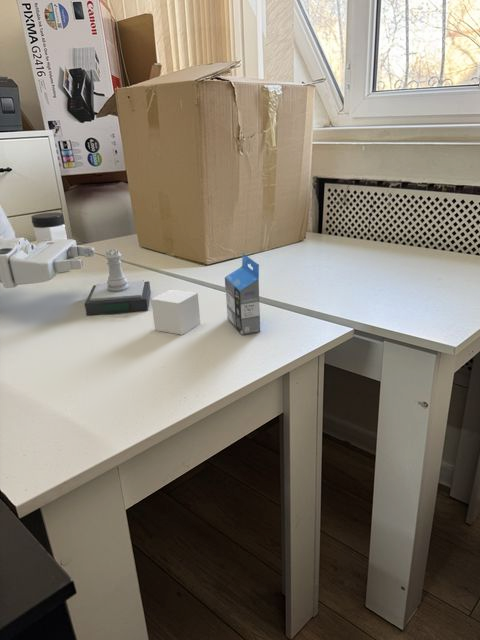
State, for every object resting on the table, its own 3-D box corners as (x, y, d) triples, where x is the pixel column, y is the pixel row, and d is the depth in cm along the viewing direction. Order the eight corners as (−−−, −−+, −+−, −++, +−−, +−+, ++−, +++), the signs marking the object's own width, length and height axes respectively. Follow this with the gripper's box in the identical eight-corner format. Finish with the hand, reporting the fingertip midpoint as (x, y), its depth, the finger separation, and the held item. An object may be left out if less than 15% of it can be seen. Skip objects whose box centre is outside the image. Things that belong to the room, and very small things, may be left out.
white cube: (200, 323, 95) (197, 292, 92) (182, 335, 90) (178, 303, 88) (174, 318, 98) (170, 289, 95) (154, 330, 93) (150, 298, 90)
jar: (33, 262, 140) (23, 217, 134) (49, 254, 147) (40, 212, 142) (63, 262, 138) (54, 217, 133) (77, 254, 146) (69, 212, 140)
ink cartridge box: (226, 318, 97) (222, 255, 91) (245, 315, 98) (242, 252, 93) (241, 335, 89) (237, 267, 84) (261, 332, 90) (259, 264, 85)
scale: (86, 316, 100) (83, 301, 99) (95, 296, 111) (92, 282, 110) (147, 311, 102) (145, 296, 100) (150, 292, 113) (149, 278, 112)
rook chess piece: (133, 286, 107) (128, 248, 103) (121, 292, 103) (115, 254, 100) (115, 284, 108) (109, 247, 105) (102, 291, 104) (96, 252, 101)
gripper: (39, 262, 112) (102, 259, 113) (1, 291, 94) (77, 287, 94) (32, 233, 109) (97, 230, 110) (-8, 257, 91) (70, 254, 92)
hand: (88, 257), depth 102 cm, fingers open, 8 cm apart
